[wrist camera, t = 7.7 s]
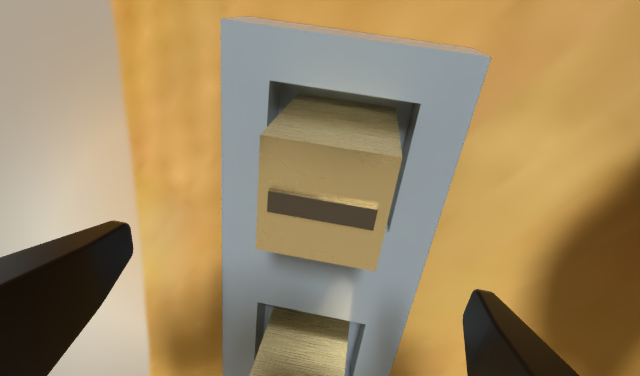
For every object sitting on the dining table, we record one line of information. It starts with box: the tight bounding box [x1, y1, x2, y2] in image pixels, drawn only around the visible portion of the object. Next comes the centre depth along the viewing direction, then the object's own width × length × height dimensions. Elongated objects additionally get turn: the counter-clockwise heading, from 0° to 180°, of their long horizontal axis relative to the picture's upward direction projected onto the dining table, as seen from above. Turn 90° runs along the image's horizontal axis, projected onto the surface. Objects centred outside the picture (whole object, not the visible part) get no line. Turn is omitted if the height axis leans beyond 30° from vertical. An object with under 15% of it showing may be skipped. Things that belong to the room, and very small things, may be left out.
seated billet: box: [249, 306, 350, 376], centre depth 20 cm, size 4×4×6 cm
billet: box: [256, 93, 402, 272], centre depth 15 cm, size 4×4×6 cm
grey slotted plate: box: [221, 16, 491, 376], centre depth 20 cm, size 22×10×3 cm, turn 173°
